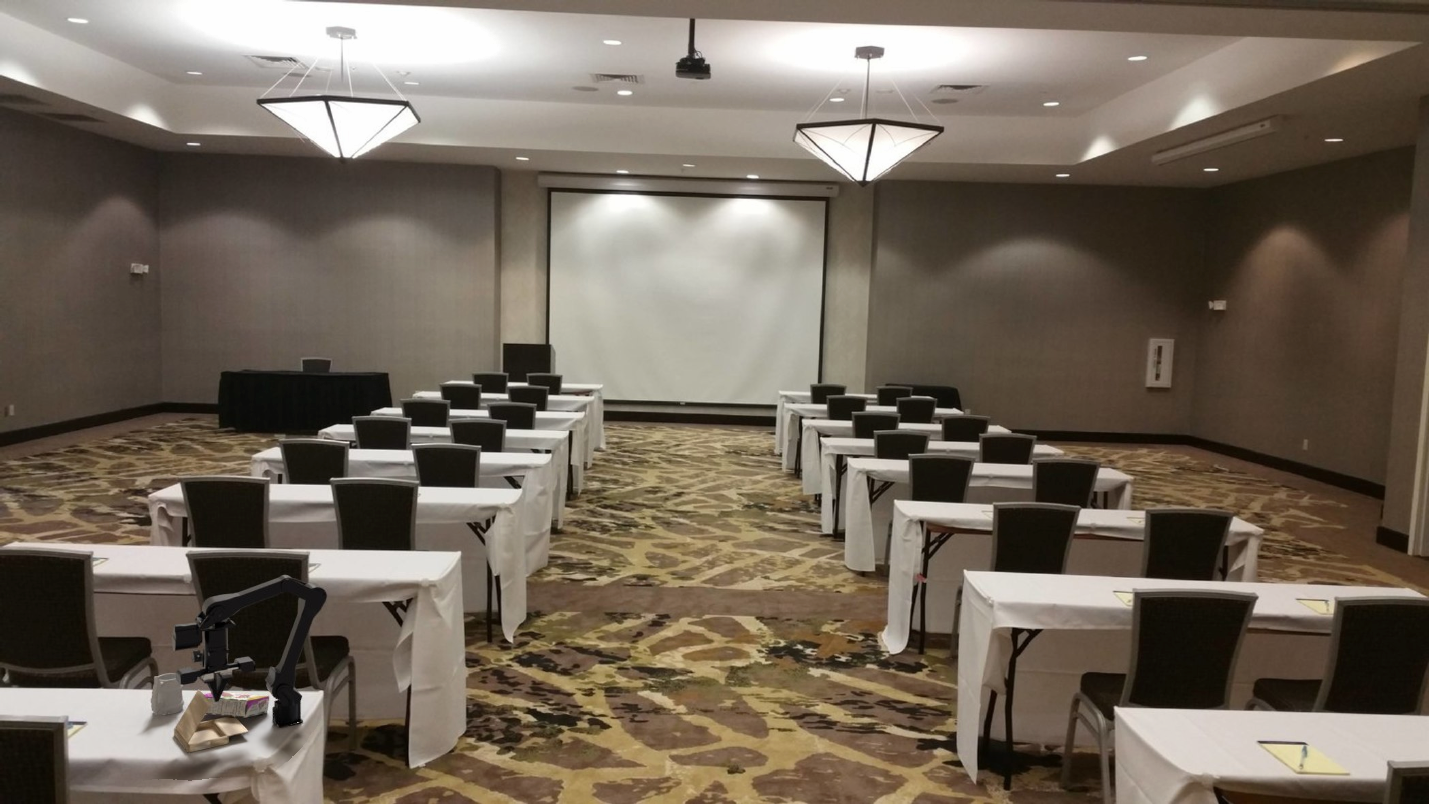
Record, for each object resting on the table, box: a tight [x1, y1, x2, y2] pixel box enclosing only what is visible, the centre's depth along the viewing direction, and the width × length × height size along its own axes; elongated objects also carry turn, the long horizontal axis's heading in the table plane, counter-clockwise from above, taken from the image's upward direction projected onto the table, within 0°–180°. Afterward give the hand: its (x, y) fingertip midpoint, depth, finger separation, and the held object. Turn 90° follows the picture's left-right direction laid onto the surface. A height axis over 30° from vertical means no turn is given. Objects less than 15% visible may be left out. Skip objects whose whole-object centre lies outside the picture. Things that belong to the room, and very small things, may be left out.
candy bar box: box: [203, 691, 270, 719], centre depth 291 cm, size 11×5×16 cm
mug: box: [150, 672, 185, 716], centre depth 292 cm, size 8×12×12 cm, turn 177°
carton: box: [173, 716, 249, 753], centre depth 277 cm, size 15×15×2 cm
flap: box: [174, 689, 212, 743], centre depth 274 cm, size 1×12×11 cm
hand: (216, 701), depth 277 cm, fingers closed
